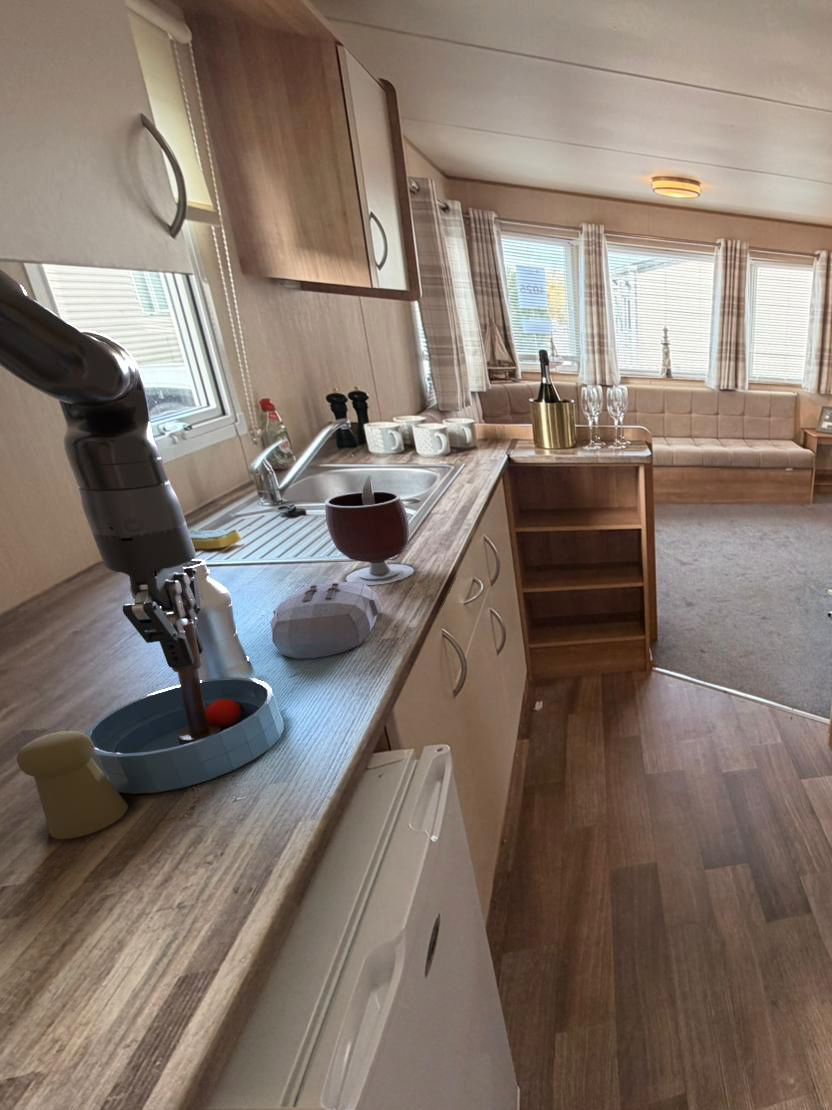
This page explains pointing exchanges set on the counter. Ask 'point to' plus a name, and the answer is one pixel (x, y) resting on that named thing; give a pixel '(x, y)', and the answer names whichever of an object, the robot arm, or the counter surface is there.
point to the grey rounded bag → (324, 619)
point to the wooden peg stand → (193, 694)
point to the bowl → (153, 746)
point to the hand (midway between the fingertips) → (187, 659)
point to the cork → (71, 784)
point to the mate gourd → (370, 532)
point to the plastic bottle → (218, 631)
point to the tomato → (223, 713)
